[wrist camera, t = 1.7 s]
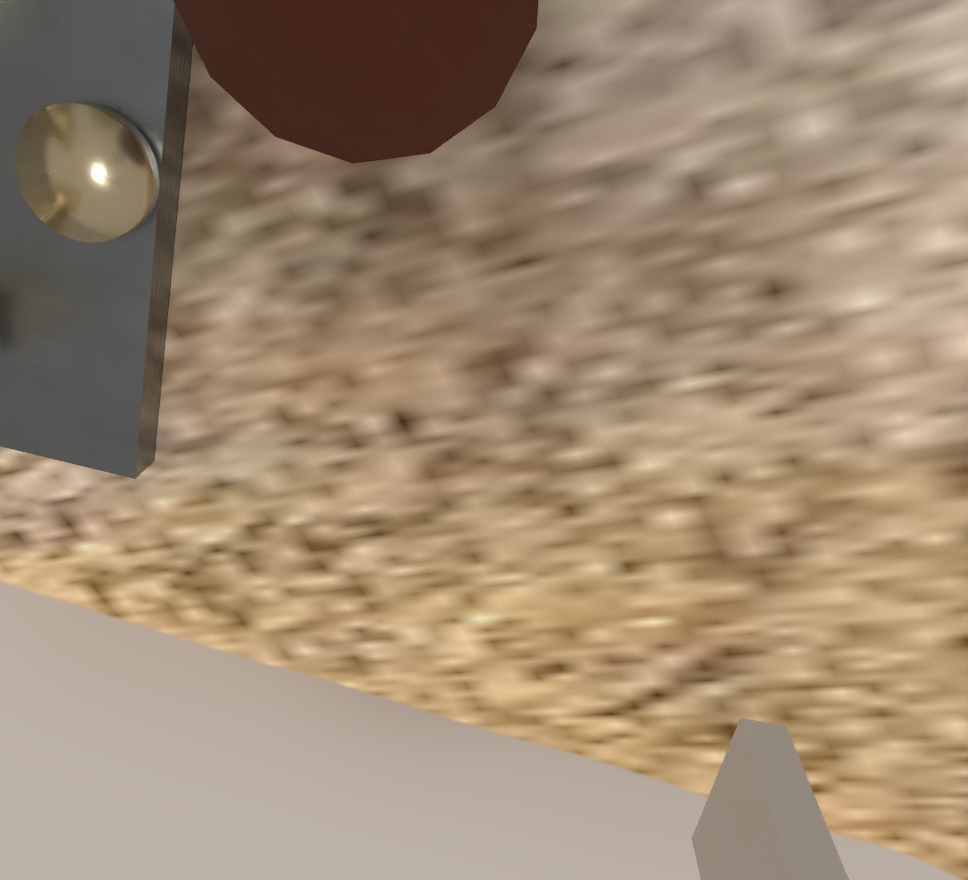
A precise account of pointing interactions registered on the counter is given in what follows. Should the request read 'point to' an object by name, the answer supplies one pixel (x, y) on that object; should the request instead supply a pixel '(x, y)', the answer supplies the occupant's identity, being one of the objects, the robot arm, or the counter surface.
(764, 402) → the counter surface
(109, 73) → the levelling plate
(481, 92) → the muffin
